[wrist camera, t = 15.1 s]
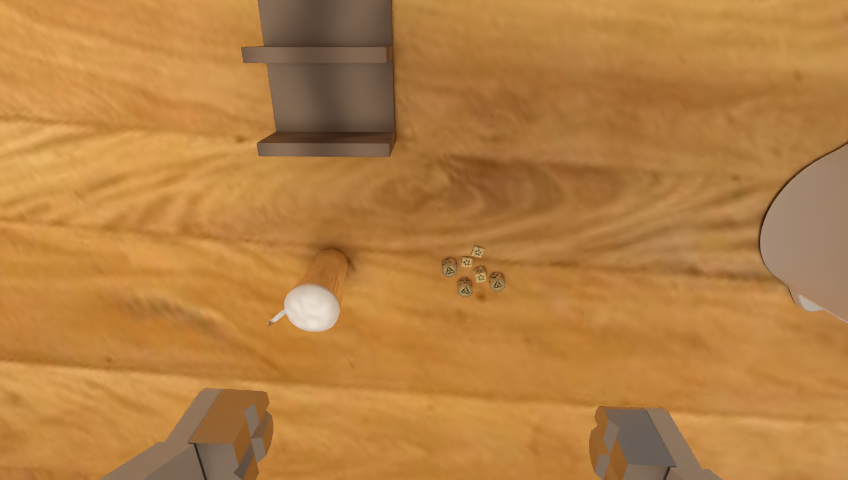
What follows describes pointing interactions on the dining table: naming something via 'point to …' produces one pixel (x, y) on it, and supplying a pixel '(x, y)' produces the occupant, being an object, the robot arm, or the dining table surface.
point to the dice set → (464, 283)
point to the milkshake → (317, 293)
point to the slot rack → (328, 77)
